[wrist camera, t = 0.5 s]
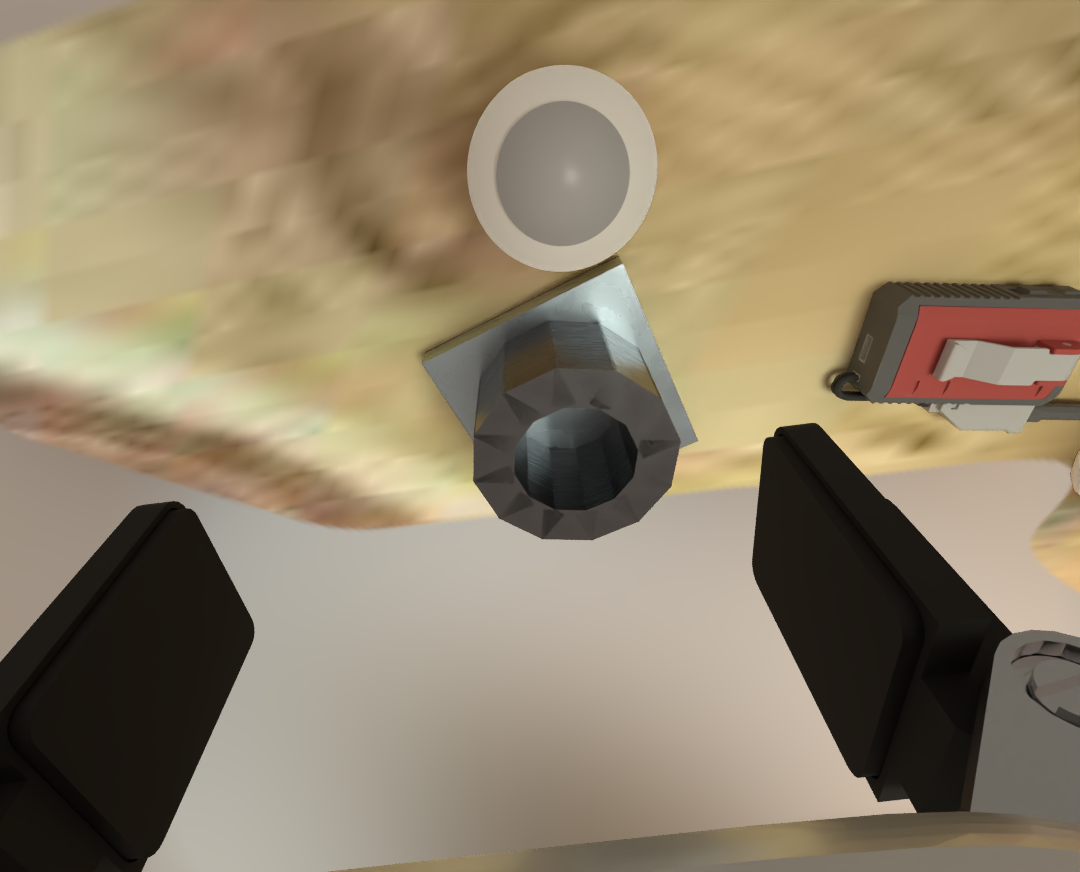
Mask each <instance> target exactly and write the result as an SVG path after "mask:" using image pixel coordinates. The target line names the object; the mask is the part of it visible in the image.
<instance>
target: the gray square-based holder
mask: <svg viewBox="0 0 1080 872" xmlns="http://www.w3.org/2000/svg"><path fill="white" fill-rule="evenodd" d="M422 365H423V366H424V368H425V369H426V371H427V372H428V374H429V375H430V377H431V378H432V380H433V381H434V383H435V384H436V386H437V387H438V389H439V390H440V392H441V393H442V395H443V396H444V398H445V399H446V401H447V402H448V404H449V405H450V407H451V408H452V410H453V411H454V413H455V414H456V416H457V417H458V419H459V420H460V422H461V423H462V425H463V426H464V428H465V429H466V431H467V432H468V434H469V435H470V437H471V438H472V440H473V441H474V476H473V481H474V483H475V484H476V485H477V487H478V488H479V490H480V491H481V493H482V494H483V496H484V497H485V498H486V500H487V501H488V503H489V504H490V506H491V507H492V508H493V510H494V511H495V513H496V514H497V516H498V517H499V518H500V519H502V520H504V521H506V522H508V523H510V524H512V525H514V526H516V527H518V528H520V529H523V530H525V531H527V532H529V533H531V534H533V535H535V536H537V537H539V538H541V539H564V540H566V539H567V540H594V539H596V538H598V537H601V536H603V535H606V534H609V533H611V532H614V531H616V530H619V529H621V528H623V527H626V526H629V525H631V524H634V523H636V522H639V520H640V519H641V518H642V517H643V516H644V515H645V514H646V513H647V512H648V511H649V510H650V509H651V507H653V505H654V504H655V503H656V502H657V501H658V500H659V499H660V498H661V497H662V496H663V495H664V494H665V493H666V492H667V490H668V489H669V488H671V486H672V480H673V475H674V471H675V466H676V461H677V457H678V452H679V449H680V448H682V447H685V446H687V445H689V444H692V443H694V442H696V441H698V439H697V437H696V435H695V432H694V430H693V428H692V425H691V423H690V420H689V418H688V416H687V413H686V411H685V409H684V406H683V404H682V402H681V399H680V397H679V395H678V392H677V390H676V388H675V385H674V383H673V381H672V378H671V376H670V373H669V371H668V369H667V366H666V364H665V362H664V359H663V357H662V355H661V352H660V350H659V348H658V345H657V343H656V341H655V338H654V336H653V333H652V331H651V329H650V326H649V324H648V322H647V319H646V317H645V315H644V312H643V310H642V308H641V305H640V303H639V301H638V298H637V296H636V294H635V291H634V289H633V286H632V284H631V282H630V279H629V277H628V275H627V272H626V270H625V268H624V265H623V263H622V261H621V260H620V258H619V256H617V257H615V258H613V259H611V260H609V261H607V262H605V263H604V264H602V265H600V266H598V267H596V268H594V269H592V270H590V271H588V272H586V273H584V274H582V275H580V276H578V277H576V278H574V279H572V280H570V281H568V282H566V283H564V284H562V285H560V286H558V287H556V288H554V289H552V290H550V291H548V292H546V293H544V294H542V295H540V296H538V297H536V298H534V299H532V300H530V301H528V302H526V303H524V304H522V305H520V306H518V307H516V308H514V309H512V310H510V311H508V312H506V313H504V314H502V315H500V316H498V317H496V318H494V319H492V320H490V321H488V322H486V323H484V324H482V325H480V326H478V327H476V328H474V329H472V330H470V331H468V332H466V333H464V334H462V335H460V336H458V337H456V338H454V339H452V340H450V341H448V342H446V343H444V344H442V345H440V346H438V347H436V348H434V349H432V350H430V351H428V352H426V353H425V355H424V358H423V361H422Z"/></svg>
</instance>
